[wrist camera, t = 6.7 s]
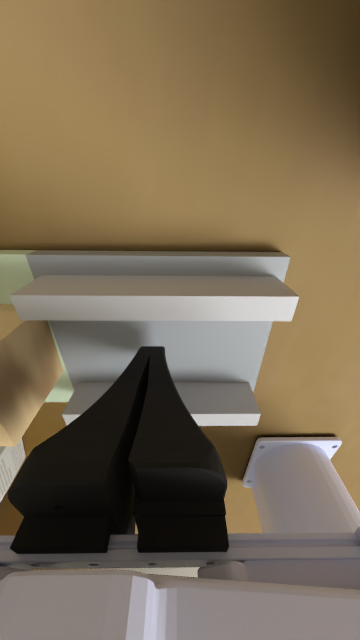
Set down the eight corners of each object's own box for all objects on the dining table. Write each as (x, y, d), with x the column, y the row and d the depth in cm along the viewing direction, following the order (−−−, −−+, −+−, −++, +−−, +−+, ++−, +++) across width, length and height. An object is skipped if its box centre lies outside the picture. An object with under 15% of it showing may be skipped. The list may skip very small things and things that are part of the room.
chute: (246, 392, 17) (261, 434, 14) (7, 392, 17) (-30, 436, 14) (281, 252, 11) (319, 273, 8) (-80, 249, 11) (-174, 270, 8)
